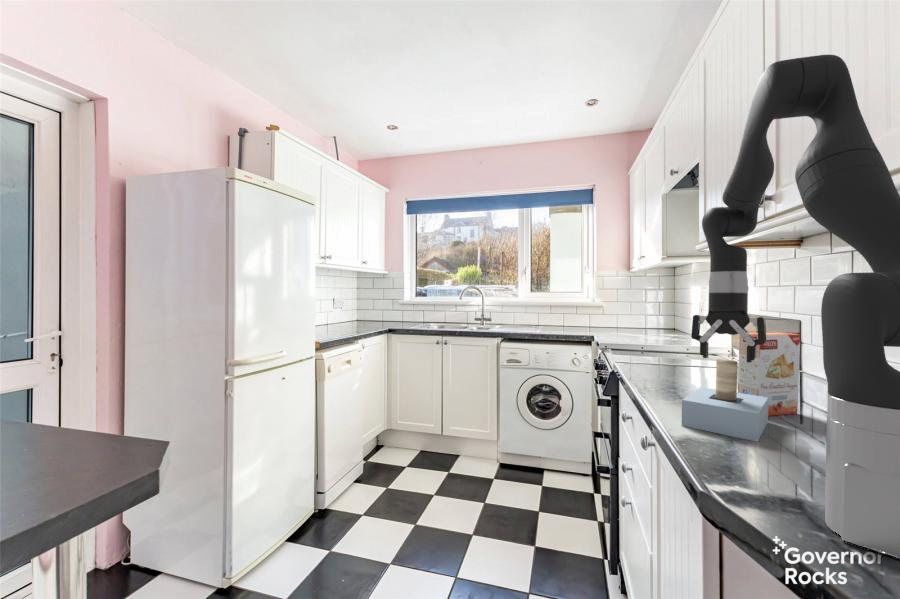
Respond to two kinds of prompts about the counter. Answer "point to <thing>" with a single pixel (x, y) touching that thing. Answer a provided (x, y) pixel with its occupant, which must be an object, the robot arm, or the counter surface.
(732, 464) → the counter surface
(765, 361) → the cracker box
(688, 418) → the socket block
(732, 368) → the peg
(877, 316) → the robot arm
